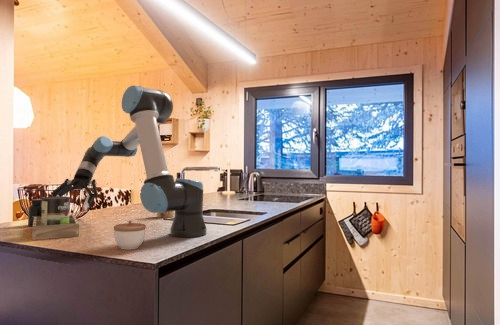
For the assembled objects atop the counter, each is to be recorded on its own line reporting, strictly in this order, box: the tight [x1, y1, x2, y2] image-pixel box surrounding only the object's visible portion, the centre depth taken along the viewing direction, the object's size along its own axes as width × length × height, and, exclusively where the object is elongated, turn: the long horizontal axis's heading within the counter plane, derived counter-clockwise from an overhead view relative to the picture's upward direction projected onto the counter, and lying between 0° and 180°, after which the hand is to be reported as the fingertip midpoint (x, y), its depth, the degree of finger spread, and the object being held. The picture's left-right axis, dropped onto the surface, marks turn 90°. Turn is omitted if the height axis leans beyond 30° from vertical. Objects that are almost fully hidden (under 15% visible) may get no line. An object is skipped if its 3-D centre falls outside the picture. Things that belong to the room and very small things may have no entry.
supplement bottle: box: [27, 198, 42, 227], centre depth 166 cm, size 7×7×12 cm
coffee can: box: [41, 196, 71, 226], centre depth 146 cm, size 10×10×14 cm
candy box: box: [156, 211, 175, 218], centre depth 198 cm, size 9×4×15 cm, turn 103°
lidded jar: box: [113, 220, 147, 250], centre depth 126 cm, size 11×11×9 cm
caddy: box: [31, 214, 80, 241], centre depth 151 cm, size 26×16×5 cm, turn 30°
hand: (68, 208), depth 156 cm, fingers open, 13 cm apart
